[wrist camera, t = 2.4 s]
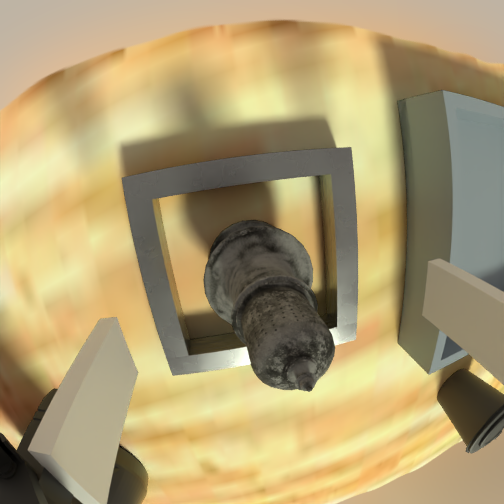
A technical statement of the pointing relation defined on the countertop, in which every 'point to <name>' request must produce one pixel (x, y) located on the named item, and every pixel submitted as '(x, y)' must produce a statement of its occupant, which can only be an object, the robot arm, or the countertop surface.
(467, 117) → the bin
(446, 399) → the coffee cup
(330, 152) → the collar
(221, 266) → the dark grey tall piece
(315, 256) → the countertop surface
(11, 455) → the robot arm
